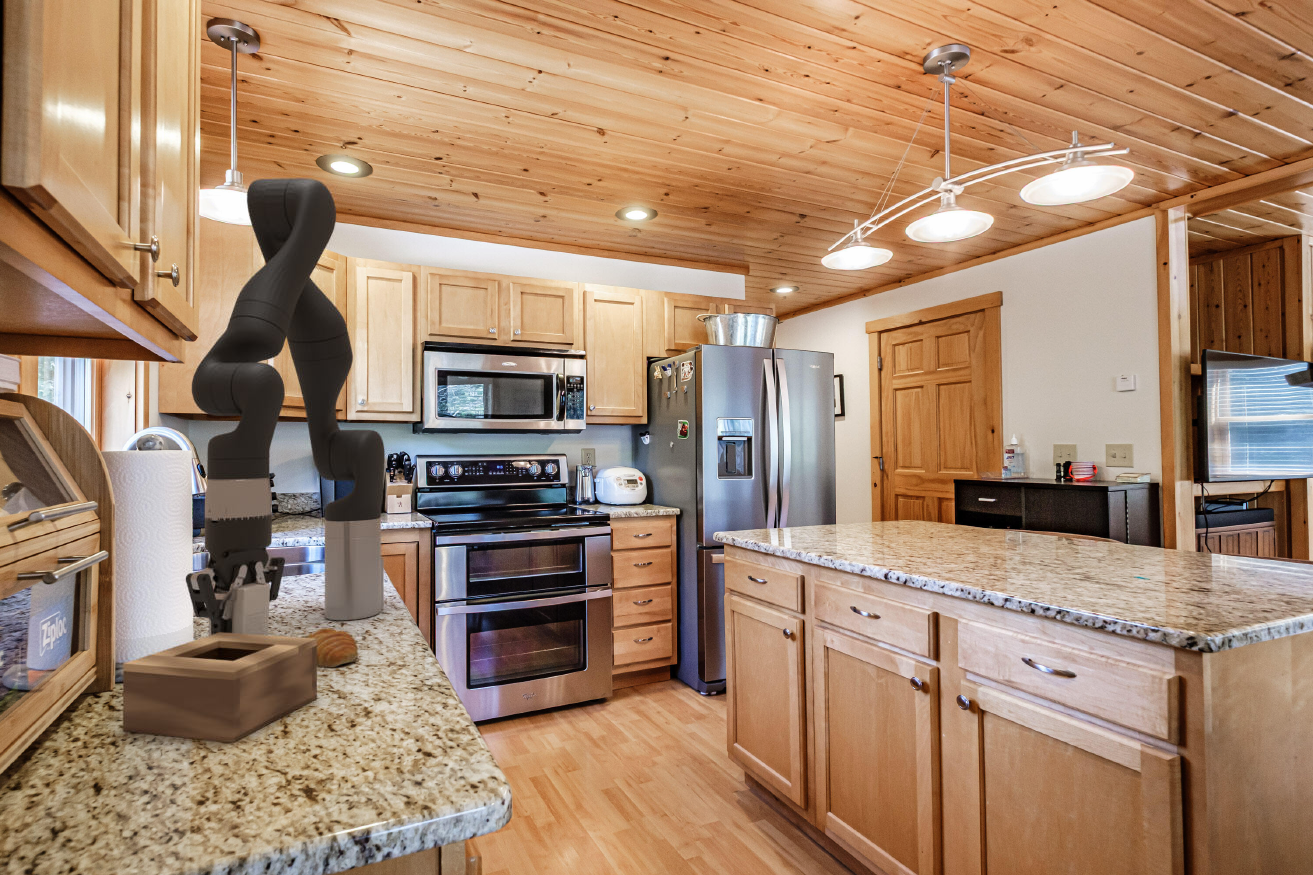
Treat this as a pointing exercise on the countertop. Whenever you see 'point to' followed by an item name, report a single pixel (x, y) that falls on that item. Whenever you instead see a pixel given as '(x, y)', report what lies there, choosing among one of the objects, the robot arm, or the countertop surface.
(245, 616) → the skincare box
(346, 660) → the pastry
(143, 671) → the slot box
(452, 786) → the countertop surface
